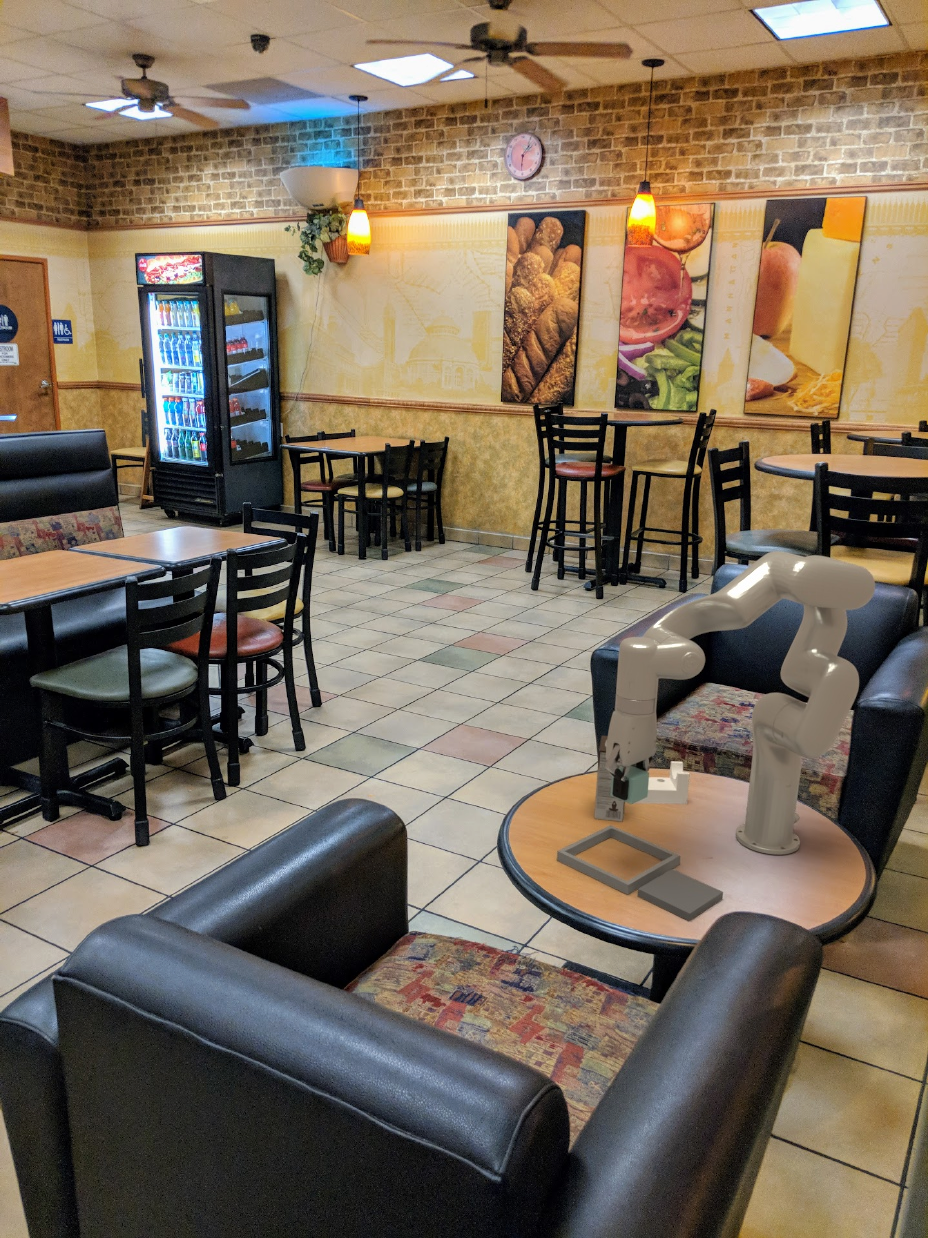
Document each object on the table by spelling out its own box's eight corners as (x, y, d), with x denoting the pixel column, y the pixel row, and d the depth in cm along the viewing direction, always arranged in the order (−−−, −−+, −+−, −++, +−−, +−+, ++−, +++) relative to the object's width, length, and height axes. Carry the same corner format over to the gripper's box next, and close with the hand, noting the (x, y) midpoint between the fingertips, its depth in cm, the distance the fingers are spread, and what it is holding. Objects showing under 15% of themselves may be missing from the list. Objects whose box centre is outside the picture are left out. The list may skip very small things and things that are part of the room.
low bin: (609, 834, 197) (610, 825, 196) (679, 864, 185) (680, 855, 184) (556, 860, 185) (557, 851, 184) (627, 895, 173) (628, 885, 173)
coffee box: (596, 801, 212) (601, 734, 208) (625, 804, 211) (630, 737, 207) (593, 819, 203) (598, 749, 199) (623, 822, 202) (629, 752, 198)
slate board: (671, 876, 180) (672, 869, 180) (722, 899, 173) (723, 892, 172) (637, 896, 173) (638, 888, 173) (689, 921, 165) (689, 913, 165)
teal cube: (626, 788, 184) (628, 764, 183) (647, 797, 180) (649, 772, 179) (610, 795, 180) (611, 771, 179) (631, 804, 177) (633, 779, 176)
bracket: (679, 792, 219) (682, 761, 217) (686, 805, 212) (689, 774, 210) (623, 790, 218) (625, 760, 217) (629, 804, 212) (631, 772, 210)
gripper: (646, 689, 184) (639, 776, 189) (591, 708, 173) (585, 799, 177) (679, 699, 179) (671, 788, 183) (624, 719, 167) (617, 813, 172)
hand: (629, 792), depth 180 cm, fingers closed on teal cube, 5 cm apart
